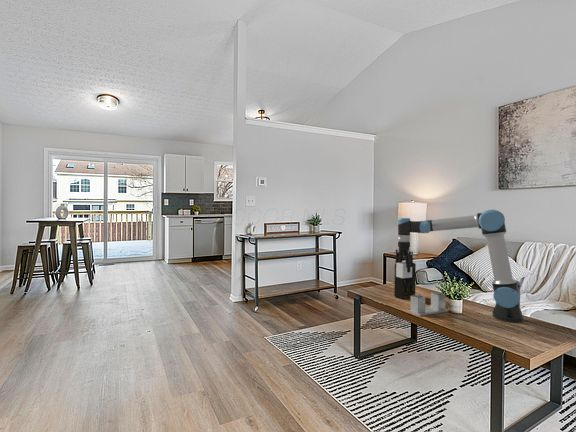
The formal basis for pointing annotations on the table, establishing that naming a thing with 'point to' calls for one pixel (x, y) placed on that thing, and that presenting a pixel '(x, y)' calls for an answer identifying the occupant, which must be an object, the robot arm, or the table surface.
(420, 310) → the grey stepped block
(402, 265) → the module
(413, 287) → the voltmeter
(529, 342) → the table surface
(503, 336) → the table surface
